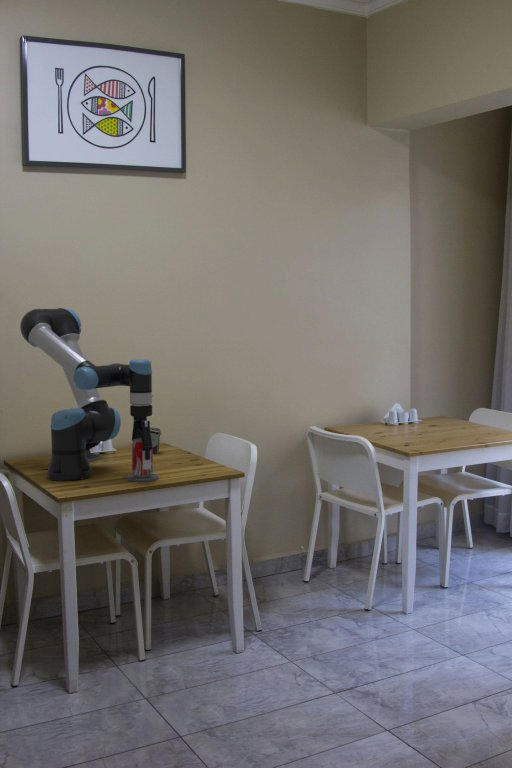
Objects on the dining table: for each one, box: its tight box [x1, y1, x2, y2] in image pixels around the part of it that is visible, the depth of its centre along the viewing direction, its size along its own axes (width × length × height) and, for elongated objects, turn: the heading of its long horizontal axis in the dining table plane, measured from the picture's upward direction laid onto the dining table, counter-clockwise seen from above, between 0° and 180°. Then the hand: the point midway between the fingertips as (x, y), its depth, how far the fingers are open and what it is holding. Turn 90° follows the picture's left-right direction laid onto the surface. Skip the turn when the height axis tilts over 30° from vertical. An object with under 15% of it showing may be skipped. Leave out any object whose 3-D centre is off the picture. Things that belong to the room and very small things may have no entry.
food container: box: [150, 426, 162, 456], centre depth 343 cm, size 12×6×10 cm, turn 72°
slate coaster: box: [126, 473, 159, 483], centre depth 296 cm, size 11×11×1 cm
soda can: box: [131, 438, 154, 478], centre depth 295 cm, size 7×7×13 cm
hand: (142, 465), depth 295 cm, fingers open, 13 cm apart
